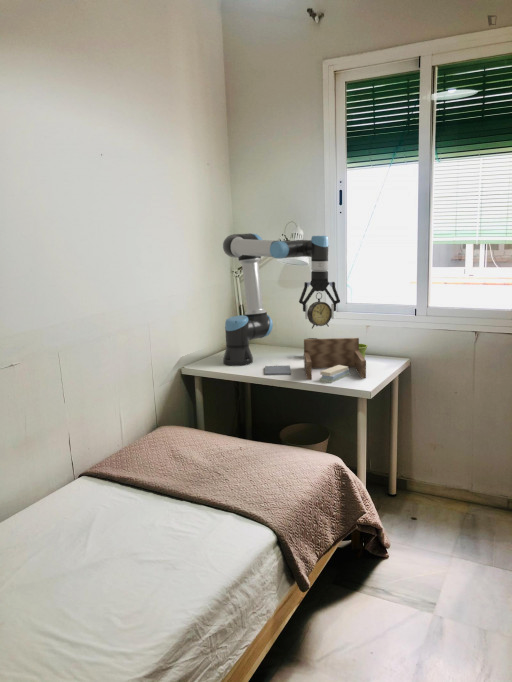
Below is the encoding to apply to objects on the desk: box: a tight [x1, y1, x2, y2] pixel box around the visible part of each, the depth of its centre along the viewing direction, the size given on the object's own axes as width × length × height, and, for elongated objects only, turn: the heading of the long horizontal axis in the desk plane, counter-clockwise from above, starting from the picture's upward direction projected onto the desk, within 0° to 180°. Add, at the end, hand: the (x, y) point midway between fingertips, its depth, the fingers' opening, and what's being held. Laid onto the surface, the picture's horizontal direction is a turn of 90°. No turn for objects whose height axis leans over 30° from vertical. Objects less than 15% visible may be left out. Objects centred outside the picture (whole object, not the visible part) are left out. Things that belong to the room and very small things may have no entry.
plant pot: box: [359, 343, 368, 359], centre depth 262 cm, size 9×9×9 cm
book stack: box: [319, 365, 351, 384], centre depth 237 cm, size 16×7×4 cm, turn 140°
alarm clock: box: [307, 291, 332, 329], centre depth 242 cm, size 11×5×16 cm, turn 115°
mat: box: [264, 365, 292, 376], centre depth 252 cm, size 12×14×1 cm
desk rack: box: [303, 337, 367, 380], centre depth 244 cm, size 26×22×14 cm
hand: (319, 318), depth 243 cm, fingers closed on alarm clock, 11 cm apart
